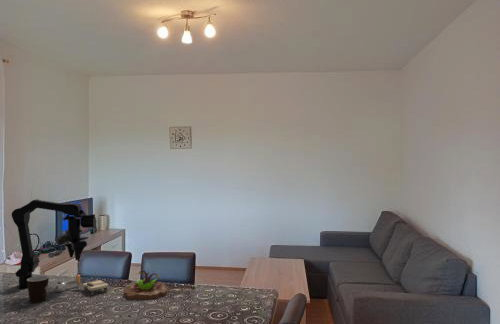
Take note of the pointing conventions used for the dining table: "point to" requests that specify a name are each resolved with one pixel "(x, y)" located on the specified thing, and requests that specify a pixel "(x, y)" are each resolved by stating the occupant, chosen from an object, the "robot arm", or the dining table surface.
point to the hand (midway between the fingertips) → (74, 258)
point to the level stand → (93, 286)
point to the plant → (145, 288)
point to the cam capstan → (65, 284)
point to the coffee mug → (37, 288)
